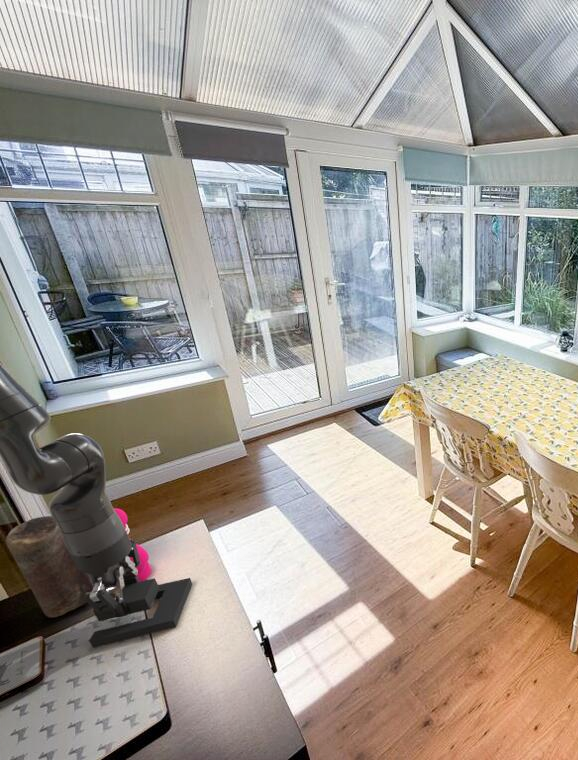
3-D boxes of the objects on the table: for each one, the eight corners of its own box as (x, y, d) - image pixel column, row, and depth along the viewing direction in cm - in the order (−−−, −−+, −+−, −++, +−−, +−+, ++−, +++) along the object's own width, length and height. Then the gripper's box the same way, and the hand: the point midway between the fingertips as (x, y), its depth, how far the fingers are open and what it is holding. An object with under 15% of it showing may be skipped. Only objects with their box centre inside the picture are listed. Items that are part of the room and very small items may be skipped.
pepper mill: (152, 559, 95) (122, 490, 87) (156, 578, 91) (125, 507, 83) (110, 577, 91) (74, 506, 83) (113, 598, 86) (75, 525, 78)
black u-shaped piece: (92, 648, 77) (88, 641, 76) (118, 600, 86) (115, 594, 85) (176, 627, 81) (173, 620, 80) (192, 584, 90) (190, 577, 89)
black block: (98, 621, 78) (92, 611, 77) (111, 599, 82) (105, 589, 81) (150, 609, 81) (145, 598, 80) (159, 588, 85) (154, 578, 84)
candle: (97, 581, 90) (60, 509, 82) (98, 604, 85) (58, 530, 77) (46, 602, 85) (1, 528, 77) (44, 627, 80) (-4, 551, 72)
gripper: (91, 515, 79) (122, 578, 86) (45, 575, 67) (86, 642, 74) (139, 507, 82) (165, 569, 89) (103, 563, 69) (137, 629, 76)
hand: (129, 602), depth 81 cm, fingers closed on black block, 5 cm apart
